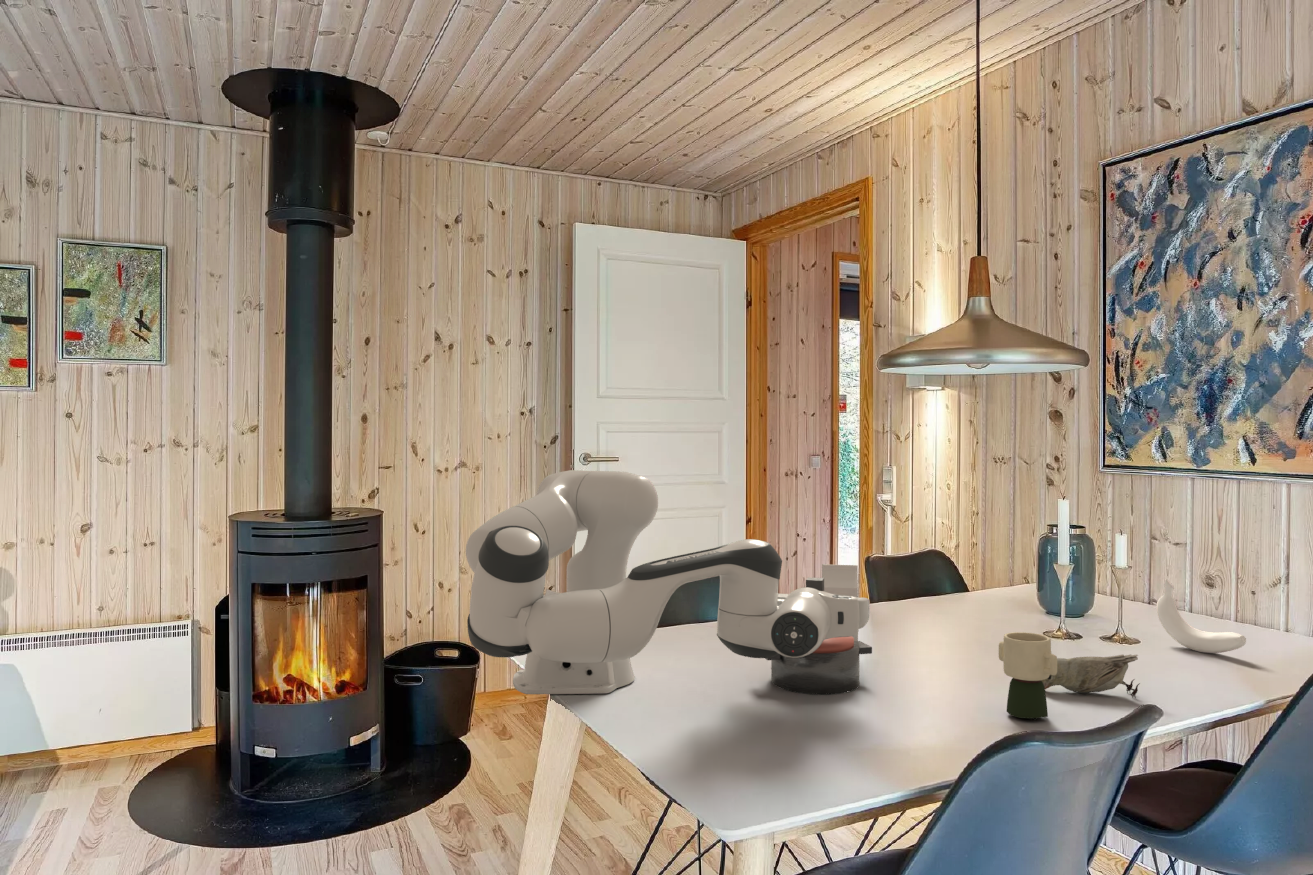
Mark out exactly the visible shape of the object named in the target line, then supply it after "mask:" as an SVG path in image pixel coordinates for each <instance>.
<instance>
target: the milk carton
mask: <svg viewBox="0 0 1313 875" xmlns="http://www.w3.org/2000/svg"><path fill="white" fill-rule="evenodd" d="M858 566H859V565H857V564H855V565H854V564H826V563H825V564H823V563H822V565H821V578H824V592H827V593H830V594H836V595H842V596H850V597H856V598H859V576H858V575H859V573H858V572H859V571H858V570H859V567H858ZM852 637H853V638H854V641H859V634H858V635H857V636H852Z"/></svg>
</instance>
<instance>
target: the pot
mask: <svg viewBox="0 0 1313 875" xmlns="http://www.w3.org/2000/svg"><path fill="white" fill-rule="evenodd" d="M869 654H870V655H871V654H873V647H872V646H871V645H869V644H868V643H865V642H864V641H861V640H858V641H854V647H853V648H852V649H850V650H848V651H844V652H838V653H811V654H809V655H807V656H804V657H799V658H791V657H785V656H783V655H780V654H778V655H776V656H774V657H772V658H764V659H765V660H766V661H771V667H770V669H771V672H770V673H771V675H770V677H771V683H772V684H773V686H776V687H778V688H779V689H782V690H786V691H789V692H792V693H798V694H806V695H820V696H821V695H822V696H823V695H837V694H838V695H839V694H845V693H844V692H846V693H848V692H847V691H850V692H852V691H855V690H856V688H857V687H858V686H859V687H860V655H869ZM859 687H858V688H859ZM858 688H857V689H858Z"/></svg>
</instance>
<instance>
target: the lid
mask: <svg viewBox="0 0 1313 875" xmlns="http://www.w3.org/2000/svg"><path fill="white" fill-rule="evenodd" d="M805 587H809V588H814V589H817V590H819V591H824V578H822V577H809V576H808V577H807V578H806V579H805ZM853 647H854V638H853V637H852V636H850V637H836V638H829V639H825V640H824V641H823V642H822V644H821V645H820V647H819V648H818V649H817V650H816V651H814V652H813V653H838V652H844V651H848V650H850V649H852V648H853Z"/></svg>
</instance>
